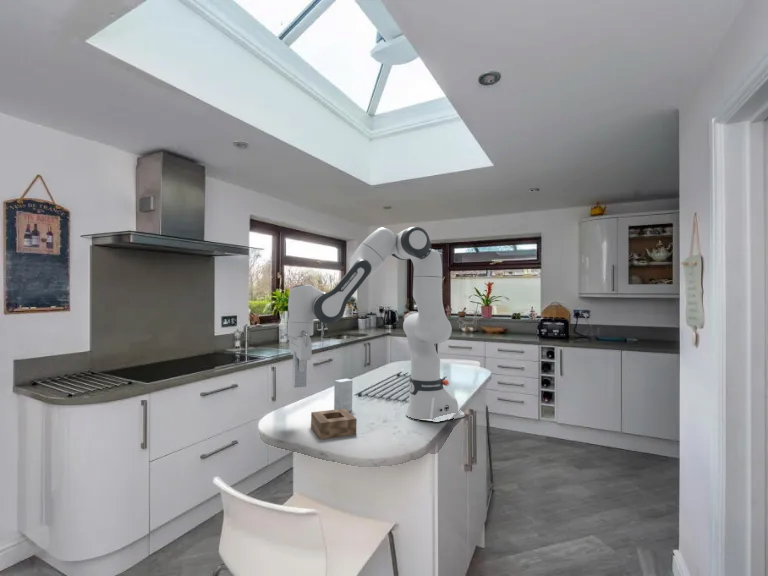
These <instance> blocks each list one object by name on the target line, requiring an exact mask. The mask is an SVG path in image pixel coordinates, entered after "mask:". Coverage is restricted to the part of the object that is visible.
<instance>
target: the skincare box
mask: <svg viewBox="0 0 768 576" xmlns="http://www.w3.org/2000/svg"><path fill="white" fill-rule="evenodd" d="M333 383H334V384H333V385H334V389H333V391H334V392H333V393H334V395H333V398H334V400H333V406H334V407H333V410H337V409H346V410H347V411H348V412H350V411H353V379H350V378H343V379H337V380H334V382H333Z"/></svg>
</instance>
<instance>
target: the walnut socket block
mask: <svg viewBox="0 0 768 576" xmlns="http://www.w3.org/2000/svg"><path fill="white" fill-rule="evenodd" d="M310 417H311V418H310V421H311V422H310V428H311V429H312V430H313V432H314V433H315V435H317V437H318V439H319V440H323V439H325V440H326V439H333V438H340V437H347V436H353V435H357V425H358V424H357V420H358V419H357V417H355V416H354V415H353V414H352V413H350V411H347V410H346V409H337V410H334V409H329V410H328V409H327V410H319V411H312V412H311V415H310Z"/></svg>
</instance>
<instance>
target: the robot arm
mask: <svg viewBox="0 0 768 576" xmlns="http://www.w3.org/2000/svg"><path fill="white" fill-rule="evenodd" d="M390 256H392V257H394V258H396V259H397V260H402V261H407V260H411V262H412V265H413V278H412V279H413V283H412V297H413V300H414V301H415V304H416V308H417V312H414V313H411V314H410V315H408V316H406V318H404V321H403V325H402V328H403V331H404V333H405V336H406V338H407V343H408V346H409V347H408V348H409V349H408V350H409V353H410V377H409V390H408V391H409V397H408V398H409V399H408V405H407V407H406V408H407V409H406V412H405V416H406V415H407V416H408V417H407V416H406V417H407V418H409V417H411V418H415V419H432V420H433V419H434V418H436V417H439V416H443V415H447V414H451V413H457V414H456V415H455V416H454V419H453V420H456V419H460V418H464V417H465V413H464V411H462V410H461V409H459V404H458V400H457V398H456V397H455V396H453V395H452V393H450V392H449V391H447V389H445V387H444V386H446V387H447V386H449V380H448V379H447V380H446V379H442V378H441V377H440V376H441V359H440V356H439V354H438V352H437V349H436V345H437V344H441V343H445V342H446V341H448V340H449V339H450V338H451V336H452V332H453V331H452V330H453V329H452V328H453V327H452V324H451V322H450V320H449V319H448V318H447V315H446V312H445V307H444V303H443V263H442V257H441V254H440V252H439V251H438V250H436V249H433V246H432V243H431V240H430V236H429V235H428V233H427V231H426V230H425V229H424V228H423V227H419V226H410V227H407V228H405V229H403V230H401V231H400V232H398V233H394V232H393V231H392V230H391V229H389V228H386V227H378V228H376V229H375V230H374V231H372V233H370V234H369V235H368V236H367V237H366V238H365V239H364V240H363V241H362V242H361V243H360V244H359V245H358V247H357V248H356V250H355V251H354V253H353V254H352V256H351V258H350V266H349V269H348V270H347V272H346V273H345V275H344V276H343V277H342V278H341V279H340V280H339V282H338V283H337V284H336V285H335V286H334V287H333V288H332V290H330V291H328V292H325V291H322V290H321V289H319V288H317V287H315V286H313V285H312V284H311V283H305V284H298V285H295V286H293V287H291V289H290V290H289V294H288V304H287V307H288V308H287V311H288V320H287V329H286V330H287V331H286V332H287V333H286V334H287V336H288V346H289V347H288V348H289V352H290V354H292V355H293V351H295V352H296V357H297V358H298V359H299V369H298V370H299V371H300V372H302V371H304V370H305V363H306V360H307V361H311V360H312V356H313V355H312V352H313V351H312V350H313V349H312V348H313V347H312V346H313V345H312V339H311V337H312V336H313V335H314V321H315V319H317V320H318V321H319V322H321V323H323V324H328V325H330V324H336V323H337V322H338V321H340V320H341V319H342V318H343V316H344V314H345V311H346V307H347V305H348V302H349V300H350V299H351V298H352V297H353V295H354V294H355V293H356V291H357V290H358V289H359V288H360V286H361V285H362V284H363V283H364V282H365V281H366V280H368V278H370V277H371V276H372V275H374V274H375V273H376V272H377V271H378V270H379V269H380V268H381V267H382V266H383V264H384V263H385V262H386V261H387V260H388V258H389V257H390ZM310 336H311V337H310ZM435 344H436V345H435ZM458 409H459V410H460V411H459V410H458ZM411 418H410V419H411ZM434 420H435V419H434Z"/></svg>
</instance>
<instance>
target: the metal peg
mask: <svg viewBox="0 0 768 576" xmlns="http://www.w3.org/2000/svg"><path fill="white" fill-rule="evenodd" d="M307 363H308V360H306V363H305V370H304V371H302V372H300V371H299V370H298V369H299V359H298V358H297V357H296V352H295V351H293V354H292V382H291V383H292V386H293V388H305V387H307V370H308V369H307V365H308V364H307Z"/></svg>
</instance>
